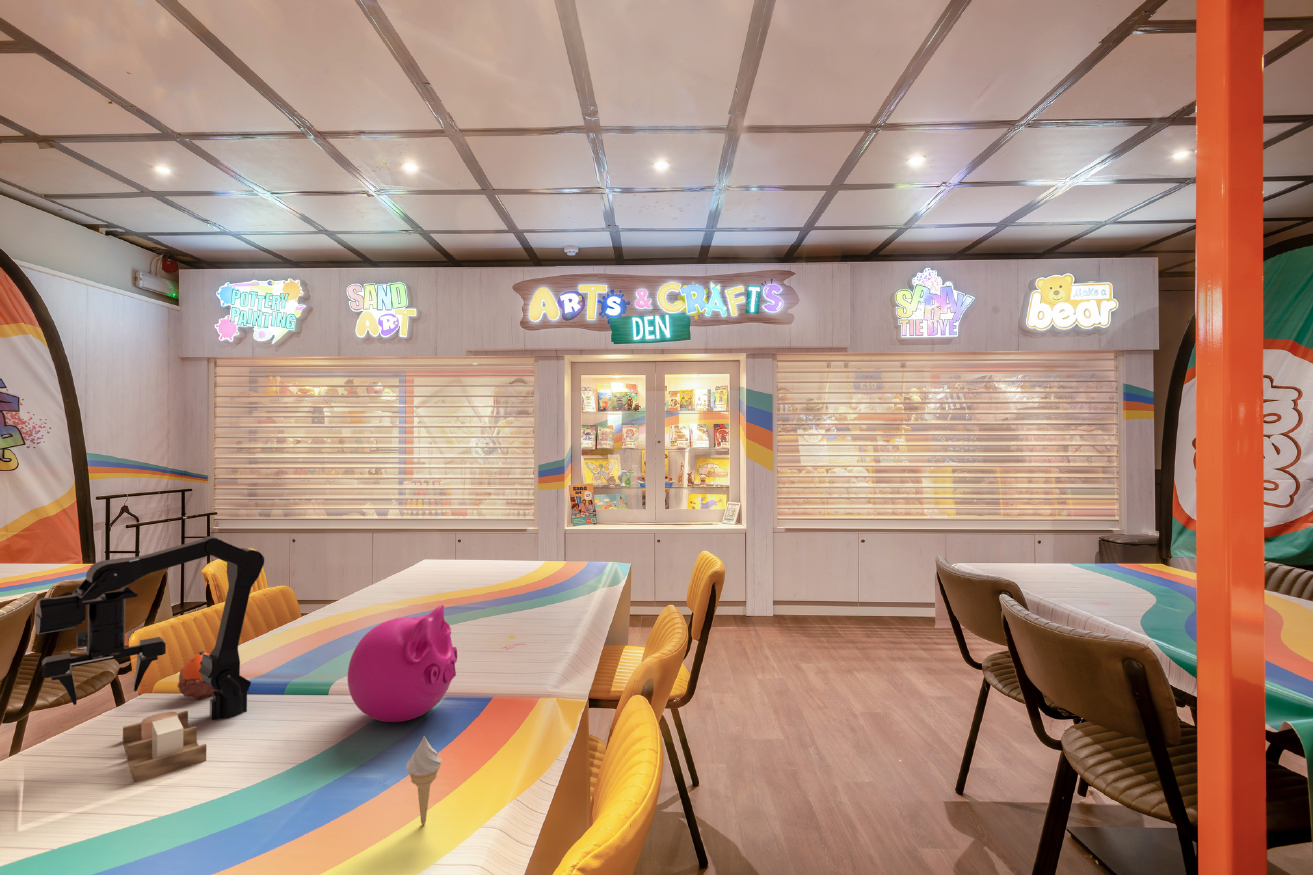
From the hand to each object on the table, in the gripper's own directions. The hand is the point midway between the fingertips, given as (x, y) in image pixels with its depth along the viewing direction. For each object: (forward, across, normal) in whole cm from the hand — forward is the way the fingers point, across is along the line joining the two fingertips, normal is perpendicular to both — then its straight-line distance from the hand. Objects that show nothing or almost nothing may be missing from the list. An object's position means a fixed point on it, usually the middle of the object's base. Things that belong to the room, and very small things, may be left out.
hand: (105, 697), depth 124 cm
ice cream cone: (+12, -36, +70) cm, 80 cm away
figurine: (+12, -51, +27) cm, 59 cm away
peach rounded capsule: (+11, -8, +2) cm, 14 cm away
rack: (+12, -8, +8) cm, 17 cm away
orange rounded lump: (+12, -20, -22) cm, 32 cm away
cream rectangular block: (+11, -8, +14) cm, 19 cm away
